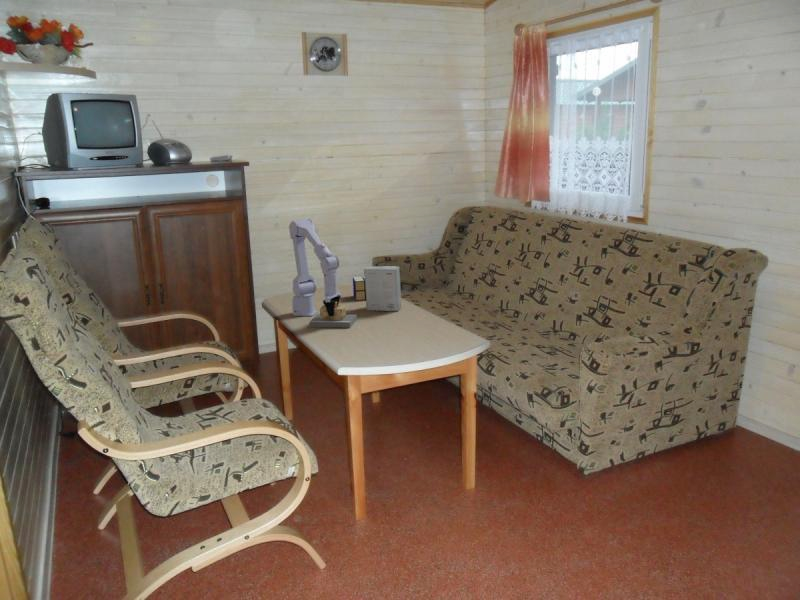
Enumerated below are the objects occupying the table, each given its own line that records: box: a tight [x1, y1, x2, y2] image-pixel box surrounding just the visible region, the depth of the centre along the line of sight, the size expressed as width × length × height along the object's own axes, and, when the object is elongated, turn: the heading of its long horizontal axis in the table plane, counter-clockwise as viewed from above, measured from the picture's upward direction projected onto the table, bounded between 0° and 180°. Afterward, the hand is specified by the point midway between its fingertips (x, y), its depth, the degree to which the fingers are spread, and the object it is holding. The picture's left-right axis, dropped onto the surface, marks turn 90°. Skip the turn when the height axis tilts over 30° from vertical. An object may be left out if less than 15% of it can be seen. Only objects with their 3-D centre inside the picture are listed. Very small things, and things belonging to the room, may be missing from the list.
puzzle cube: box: [352, 275, 366, 301], centre depth 327 cm, size 10×10×10 cm
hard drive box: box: [363, 265, 402, 312], centre depth 303 cm, size 16×8×20 cm, turn 74°
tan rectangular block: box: [319, 304, 347, 320], centre depth 283 cm, size 10×6×5 cm, turn 81°
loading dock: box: [309, 313, 357, 329], centre depth 284 cm, size 18×12×3 cm, turn 81°
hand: (332, 313), depth 284 cm, fingers closed on tan rectangular block, 5 cm apart
